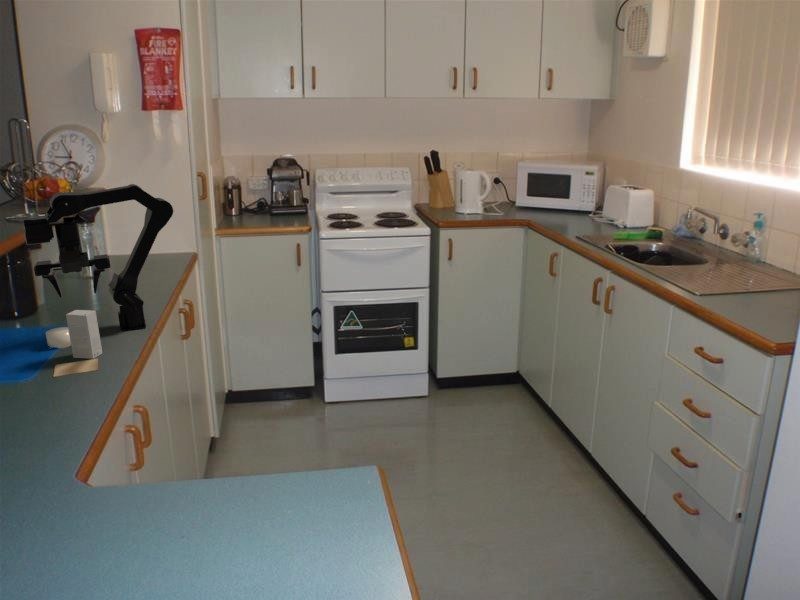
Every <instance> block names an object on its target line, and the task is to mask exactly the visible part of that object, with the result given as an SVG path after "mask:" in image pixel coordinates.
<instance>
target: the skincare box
mask: <svg viewBox="0 0 800 600" xmlns="http://www.w3.org/2000/svg"><path fill="white" fill-rule="evenodd" d="M65 317H66V318H65V319H66V324H67V327H68V330H69V336H70V341H71V352H72V358H74V359H85V360H91V359H97V357H99V356H100V355H102V354H103V350H102V349H103V348H102V342H101V335H100V330H99V324H98V319H97V312H96V310H89V309H74V310H73V311H72V310H71V311H70V312H68V313H66V314H65Z"/></svg>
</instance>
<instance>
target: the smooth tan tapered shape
mask: <svg viewBox="0 0 800 600" xmlns="http://www.w3.org/2000/svg"><path fill="white" fill-rule="evenodd" d="M96 370H97V371H99V358H94V359H85V360H79V361H72V362H65V363H59V364H58V363H57V364H55V365H54V372H53V375H52V376H53V378H57V377H65V376H71V375H77V374H83V373H84V374H85V373H90V372H96Z"/></svg>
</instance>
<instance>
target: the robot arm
mask: <svg viewBox="0 0 800 600" xmlns="http://www.w3.org/2000/svg"><path fill="white" fill-rule="evenodd" d="M128 201H136V202H138V203H139V204H140V205H142V206H144V207H145V208H146V211H145V213H144V221H143V227H142V229H141V232H140V234H139V236H138V237H137V240H136V242H135V243H134V246H133V249H132V250H131V253H130V255H129V256H128V259H127V262H126V264H125V266H124V268H123V270H122V271H121V272H120V273H119V274H117V273H116V272H114V273H113V275H112V279H111V281H110V282H109V283H108V285H107V286H108V287H109V288H108V292H109V295H110V297H111V298H112V300H113V301H114V302H115V303H116V304H118V305H119V311H117V315H118V322H119V324H118V325H119V328H121V331H123V332H124V331H125V332H126V331H133V330H139V329H146V328H147V323H146V319H145V314H144V313H145V312H144V303H145V301H144V300H143V299H142V298H141V297H140V296H139V294H137V288H138V280H139V275H140V273H141V271H142V269H143V266H144V265H145V263H146V261H147V258H148V257H149V255H150V254H149V253H150V252H151V250H152V247H153V246H154V243H155V241H156V239H157V237H158V234H159V232H161V231H162V229H163V228H165V226H166V225H167V224H168V223H169V221H170V219H172V217H173V214H174V208H173V206H172V205H171V202H169V201H167V200H165V198H161V197H155V196H153V195H151V194H150V193H148V192H146V191H145V190H143V188H141V186H139V185H137V184H133V183H130V184H129V185H124V186H119V187H112V188H106V189H101V190H100V189H99V190H93V191H88V192H72V191H64V192H62V191H60V192H57V193H56V192H55V193H54V194H52V196H51V197H50V199H49V205H50V206H49V207H48V209H47V210H46V212H45V215H44V216H43V217H38V218H37V217H36V218H22V221H23V234H24V239H25V243H26V246H31V245H39V244H47V243H51V240H53V239H55V236H56V241H57V247H58V260H59V262H54V263H52V261H51V259H50V260H41V261H36V263H35V264H34V267H33V270H34V275H35V277H41V278H42V279H46V280H48V281H49V282H50V283H51V285H52V286H53V288H54V290H55V291H56V293H57V295H58V297H59V298H62V297H63V295H62V294H63V293H62V289H61V285H60V282H59V279H58V276H57V273H56V272H57V271H59V270H60V271H61V272H62V273H63V274H69V273H80V272H82V271H83V268H88V267H90V268H91V267H93V268H92V269H93V271H92V272H93V273H92V274H93V275H92V276H93V277H92V279H93V292H94V294H97V290H98V289H97V288H98V283H99V278H100V276H101V273H103V272H105V271H106V269H110V268H111V258H110V255H108V254H99V255H98V254H97V255H93V259H89V256H88V252H87V251H85V252H84V251H83V247H82V241H81V235H80V230H79V229H80V228H79V223H81V224H82V223H85V222H86V219H85V218H84V217H82V216H80V214H79V213H81V212H82V211H85V210H87V209H90V208H94V207H100V206H106V205H111V204H116V203H123V202H128ZM72 215H73V216H72ZM53 227H54V229H53ZM54 231H55V234H54Z"/></svg>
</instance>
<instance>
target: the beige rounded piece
mask: <svg viewBox="0 0 800 600" xmlns="http://www.w3.org/2000/svg"><path fill="white" fill-rule="evenodd" d="M45 337H46V342H47V347H48V346H50V347H57V348H59V350H60V349H65V348H69V347H70V346H71V341H70V336H69V330H68V326H61V327H60V326H59V327H55V328H51V329H49V330H47V331H45Z"/></svg>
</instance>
